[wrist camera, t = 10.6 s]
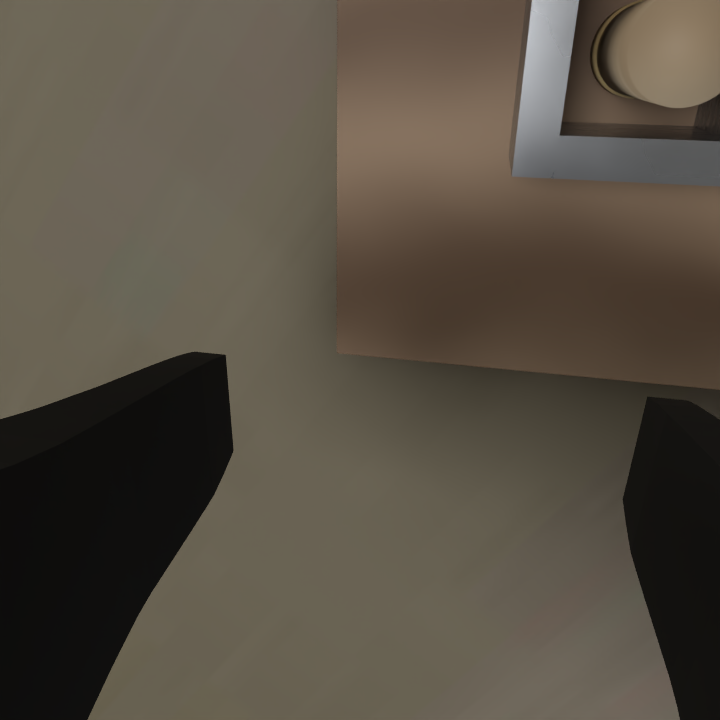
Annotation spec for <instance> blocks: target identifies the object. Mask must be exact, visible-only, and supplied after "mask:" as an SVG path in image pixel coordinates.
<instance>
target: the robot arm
mask: <svg viewBox="0 0 720 720" xmlns="http://www.w3.org/2000/svg"><path fill="white" fill-rule="evenodd" d="M232 453H233V439H232V427H231V415H230V403H229V390H228V378H227V366H226V355H222V354H211V353H201V352H191V353H186V354H183V355H179V356H176V357H173V358H170V359H167V360H165V361H162V362H159V363H157V364H154V365H151V366H149V367H146V368H144V369H141V370H139V371H136V372H134V373H131V374H129V375H126V376H124V377H121V378H118V379H116V380H113V381H111V382H108V383H106V384H103V385H101V386H98V387H96V388H93V389H90V390H87V391H84V392H82V393H79V394H76V395H73V396H71V397H68V398H65V399H62V400H59V401H57V402H54V403H51V404H48V405H46V406H43V407H40V408H36V409H33V410H30V411H27V412H24V413H20V414H17V415H14V416H10V417H7V418H3V419H0V720H87V719H88V717H89V715H90V713H91V711H92V709H93V706H94V704H95V702H96V700H97V698H98V696H99V694H100V692H101V689H102V687H103V685H104V683H105V681H106V679H107V677H108V674H109V672H110V670H111V668H112V666H113V664H114V662H115V660H116V658H117V656H118V654H119V652H120V650H121V648H122V646H123V644H124V642H125V640H126V638H127V636H128V634H129V632H130V630H131V628H132V626H133V624H134V622H135V620H136V618H137V616H138V615H139V613H140V611H141V609H142V608H143V606H144V604H145V603H146V601H147V599H148V597H149V596H150V594H151V592H152V591H153V589H154V588H155V586H156V585H157V583H158V582H159V580H160V578H161V577H162V575H163V574H164V572H165V571H166V569H167V568H168V566H169V565H170V563H171V561H172V560H173V558H174V557H175V555H176V554H177V552H178V551H179V549H180V548H181V546H182V545H183V543H184V541H185V540H186V538H187V537H188V535H189V534H190V532H191V531H192V529H193V528H194V526H195V524H196V523H197V521H198V520H199V518H200V516H201V515H202V513H203V512H204V510H205V509H206V507H207V505H208V504H209V502H210V500H211V499H212V497H213V496H214V494H215V492H216V489H217V487H218V485H219V483H220V481H221V479H222V477H223V474H224V472H225V470H226V467H227V465H228V463H229V460H230V458H231V456H232ZM623 505H624V512H625V519H626V526H627V533H628V539H629V544H630V550H631V555H632V558H633V561H634V565H635V568H636V572H637V575H638V578H639V581H640V585H641V588H642V591H643V594H644V598H645V601H646V604H647V607H648V610H649V614H650V617H651V620H652V623H653V626H654V629H655V633H656V636H657V639H658V642H659V645H660V649H661V652H662V655H663V658H664V661H665V665H666V668H667V671H668V674H669V677H670V681H671V685H672V688H673V692H674V696H675V700H676V704H677V707H678V712H679V717H680V720H720V420H719V419H717V418H716V417H714V416H713V415H711V414H710V413H708V412H707V411H705V410H704V409H702V408H700V407H699V406H697V405H695V404H693V403H691V402H689V401H685V400H675V399H665V398H655V397H647V401H646V405H645V409H644V413H643V418H642V422H641V426H640V430H639V434H638V438H637V442H636V447H635V451H634V455H633V459H632V463H631V467H630V472H629V476H628V480H627V484H626V488H625V492H624V496H623Z"/></svg>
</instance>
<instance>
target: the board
mask: <svg viewBox="0 0 720 720" xmlns="http://www.w3.org/2000/svg"><path fill="white" fill-rule="evenodd" d="M525 4H526V0H337V353H341V354H351V355H362V356H372V357H383V358H393V359H403V360H414V361H424V362H435V363H445V364H456V365H466V366H476V367H487V368H497V369H508V370H518V371H529V372H539V373H549V374H560V375H570V376H581V377H591V378H602V379H612V380H622V381H633V382H643V383H654V384H664V385H675V386H685V387H695V388H706V389H716V390H720V187H719V186H699V185H678V184H657V183H636V182H615V181H594V180H573V179H552V178H531V177H512V175H511V169H510V162H509V147H510V138H511V129H512V120H513V111H514V102H515V93H516V84H517V75H518V67H519V58H520V49H521V40H522V31H523V22H524V13H525ZM718 94H720V0H579V4H578V11H577V18H576V25H575V32H574V39H573V46H572V53H571V60H570V67H569V74H568V81H567V88H566V95H565V102H564V109H563V116H562V122H586V123H616V124H646V125H675V126H694V122H695V118H696V113H697V109H698V105H699V104H701V103H704V102H706V101H708V100H710V99H712V98H714V97H715V96H717V95H718Z"/></svg>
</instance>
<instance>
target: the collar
mask: <svg viewBox="0 0 720 720" xmlns="http://www.w3.org/2000/svg"><path fill="white" fill-rule="evenodd" d="M578 4H579V0H526V4H525V13H524V22H523V31H522V40H521V49H520V58H519V67H518V75H517V84H516V93H515V102H514V111H513V120H512V129H511V138H510V147H509V162H510V169H511V175H512V177H531V178H552V179H573V180H594V181H615V182H636V183H657V184H678V185H699V186H719V187H720V94H718V95H717V96H715V97H714V98H712V99H710V100H708V101H706V102H704V103H701V104H699V105H698V109H697V113H696V118H695V122H694V126H675V125H646V124H616V123H586V122H562V116H563V109H564V102H565V95H566V88H567V81H568V74H569V67H570V60H571V53H572V46H573V39H574V32H575V25H576V18H577V11H578Z"/></svg>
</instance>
